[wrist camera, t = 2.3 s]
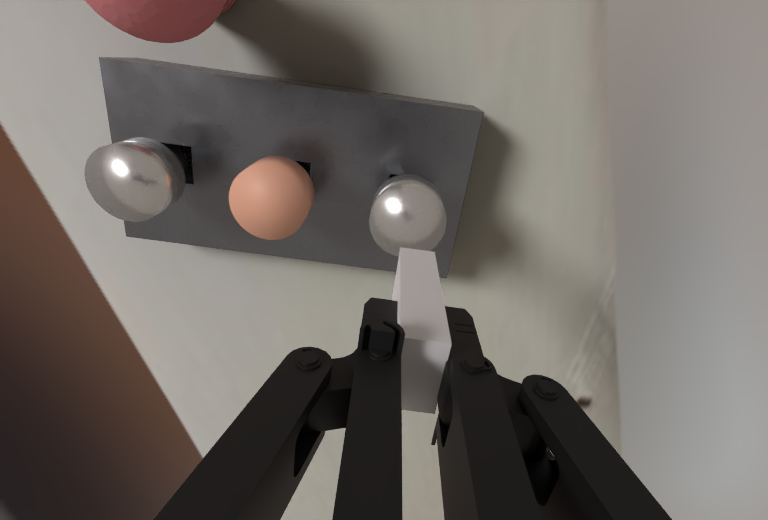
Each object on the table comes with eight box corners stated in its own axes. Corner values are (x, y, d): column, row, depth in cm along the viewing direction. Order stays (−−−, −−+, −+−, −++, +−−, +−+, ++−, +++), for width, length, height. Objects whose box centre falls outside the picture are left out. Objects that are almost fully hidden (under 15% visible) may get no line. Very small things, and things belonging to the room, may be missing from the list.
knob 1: (140, 124, 28) (77, 139, 22) (206, 133, 28) (160, 150, 22) (148, 188, 29) (92, 216, 24) (210, 196, 30) (168, 226, 24)
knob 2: (260, 140, 28) (227, 159, 22) (326, 149, 28) (308, 170, 22) (260, 203, 30) (229, 234, 24) (321, 211, 30) (304, 244, 24)
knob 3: (378, 157, 28) (374, 179, 23) (443, 165, 28) (453, 190, 23) (371, 217, 30) (365, 252, 24) (431, 225, 30) (438, 262, 25)
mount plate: (136, 57, 29) (99, 57, 25) (473, 105, 30) (483, 111, 26) (155, 218, 34) (126, 236, 31) (441, 255, 35) (446, 278, 31)
